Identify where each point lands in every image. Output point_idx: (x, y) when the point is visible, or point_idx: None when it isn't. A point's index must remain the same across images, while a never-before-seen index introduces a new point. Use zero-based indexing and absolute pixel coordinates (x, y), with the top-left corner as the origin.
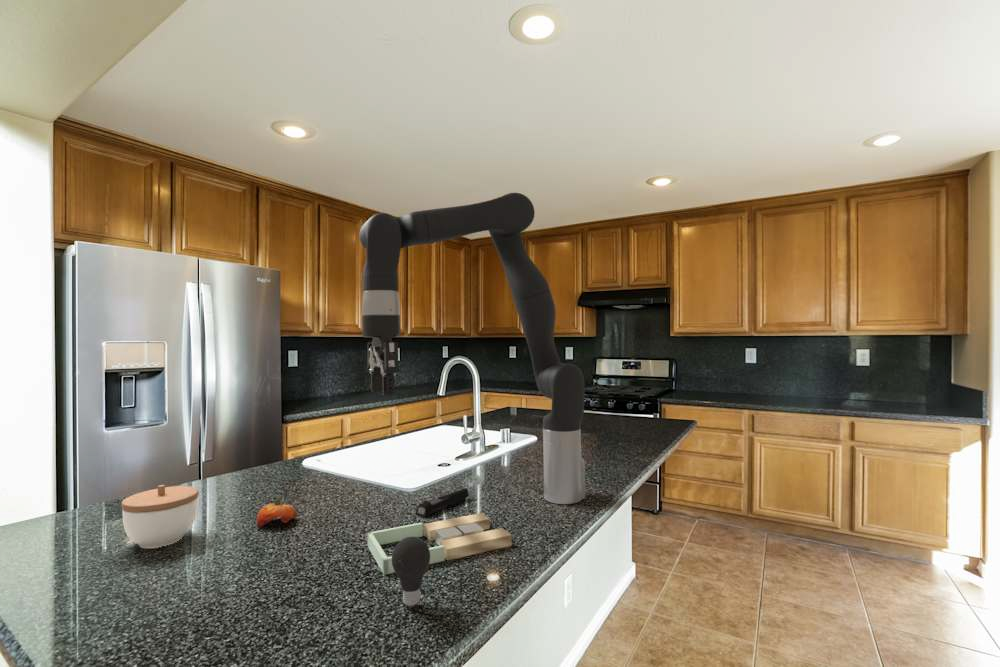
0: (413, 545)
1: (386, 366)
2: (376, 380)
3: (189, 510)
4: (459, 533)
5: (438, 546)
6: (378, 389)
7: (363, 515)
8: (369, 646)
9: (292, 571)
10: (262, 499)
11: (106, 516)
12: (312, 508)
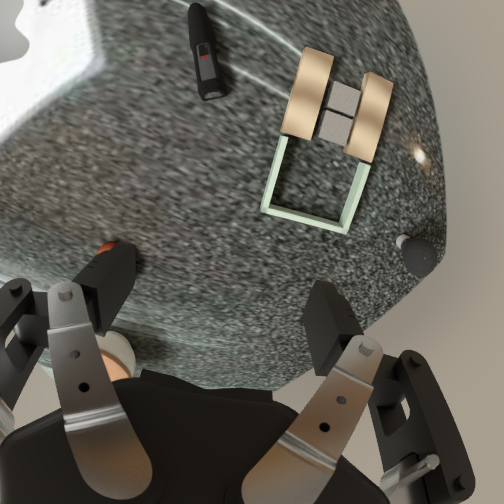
0: (434, 267)
1: (398, 416)
2: (113, 296)
3: (119, 352)
4: (350, 122)
5: (365, 170)
6: (132, 264)
7: (151, 164)
8: (408, 282)
9: (263, 289)
10: (37, 249)
11: (48, 349)
12: (87, 212)
